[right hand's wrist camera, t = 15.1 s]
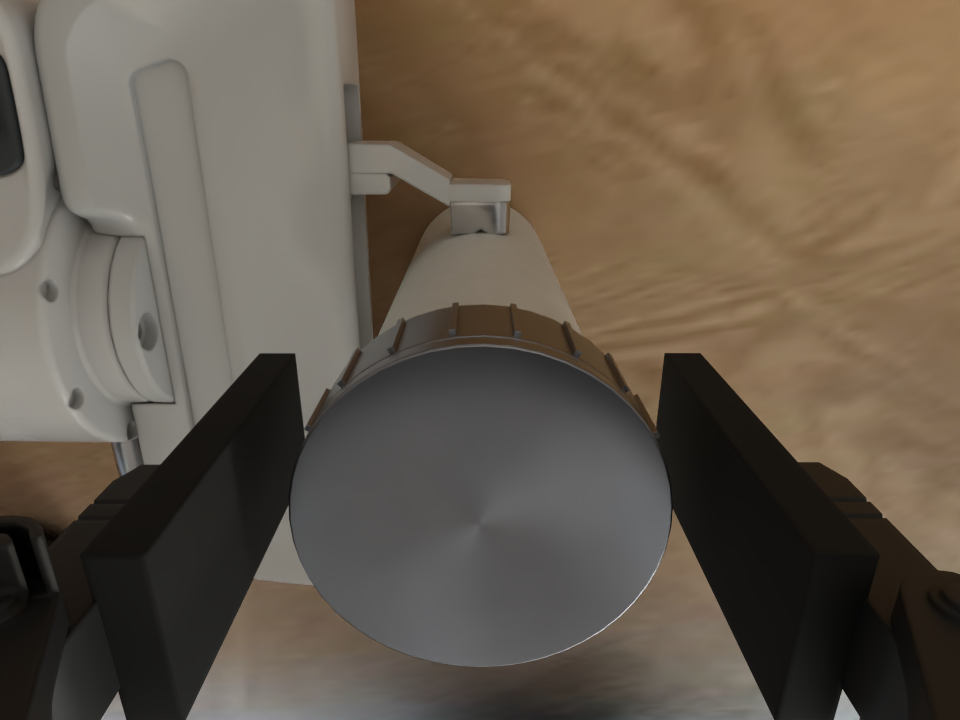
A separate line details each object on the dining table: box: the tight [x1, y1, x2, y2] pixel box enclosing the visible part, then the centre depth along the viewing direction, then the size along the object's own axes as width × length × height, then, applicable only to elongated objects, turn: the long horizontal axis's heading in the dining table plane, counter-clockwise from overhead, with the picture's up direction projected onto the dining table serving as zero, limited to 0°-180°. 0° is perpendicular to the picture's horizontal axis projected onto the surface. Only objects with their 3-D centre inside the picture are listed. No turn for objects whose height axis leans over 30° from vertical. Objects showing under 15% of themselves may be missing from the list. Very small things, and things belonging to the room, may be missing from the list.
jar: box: [378, 207, 583, 336], centre depth 19 cm, size 5×5×17 cm
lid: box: [288, 302, 673, 667], centre depth 11 cm, size 6×6×2 cm
